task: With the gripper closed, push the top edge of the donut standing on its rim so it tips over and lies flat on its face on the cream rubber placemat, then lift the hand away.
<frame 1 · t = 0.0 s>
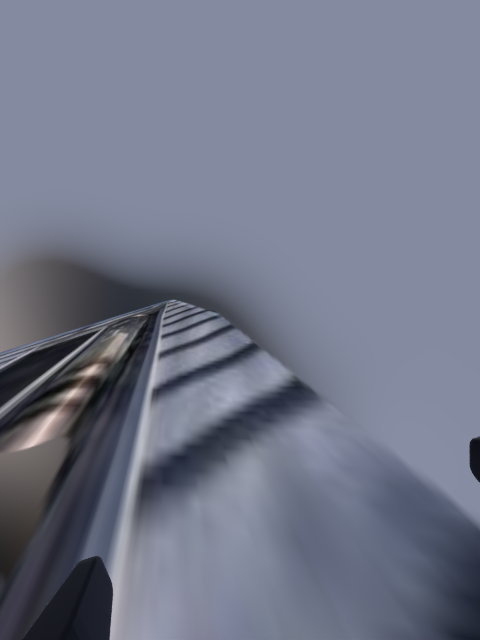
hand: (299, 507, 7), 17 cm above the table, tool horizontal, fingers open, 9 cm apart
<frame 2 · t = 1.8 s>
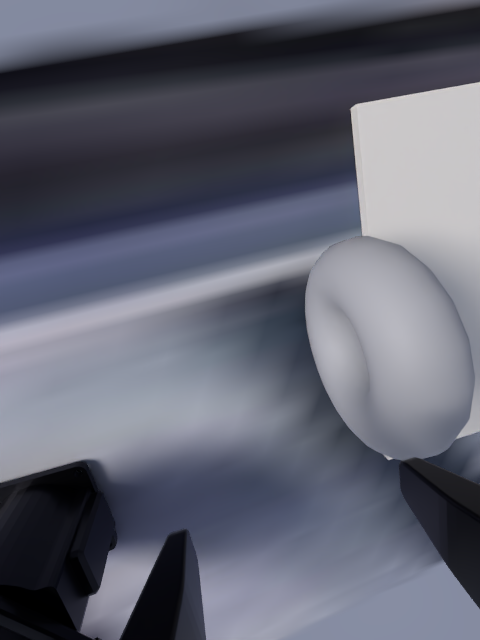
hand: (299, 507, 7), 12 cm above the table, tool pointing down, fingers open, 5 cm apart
donut: (322, 318, 20), on the table
placemat: (427, 293, 20), on the table
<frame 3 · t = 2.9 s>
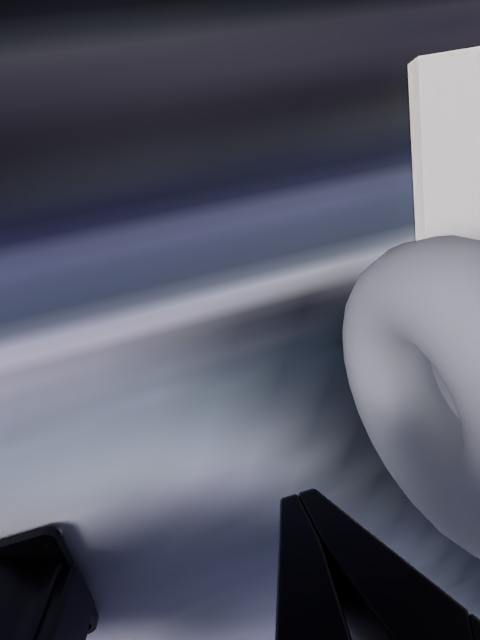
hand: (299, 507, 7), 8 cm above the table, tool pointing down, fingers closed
donut: (360, 341, 15), on the table
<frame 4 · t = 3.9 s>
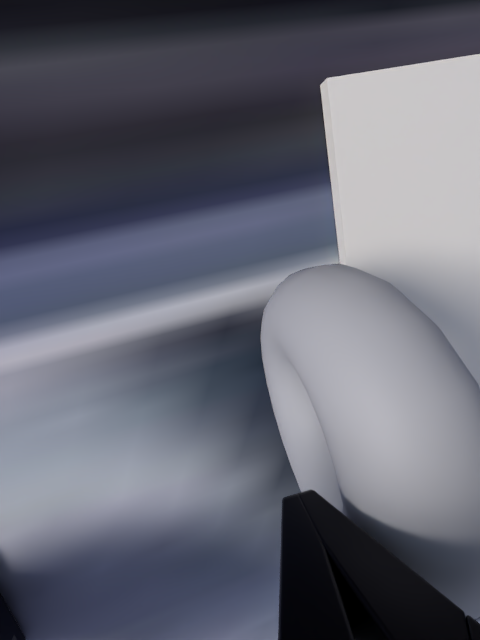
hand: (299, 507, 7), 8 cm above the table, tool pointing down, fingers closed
donut: (288, 361, 15), on the table, touching gripper
placemat: (424, 327, 16), on the table
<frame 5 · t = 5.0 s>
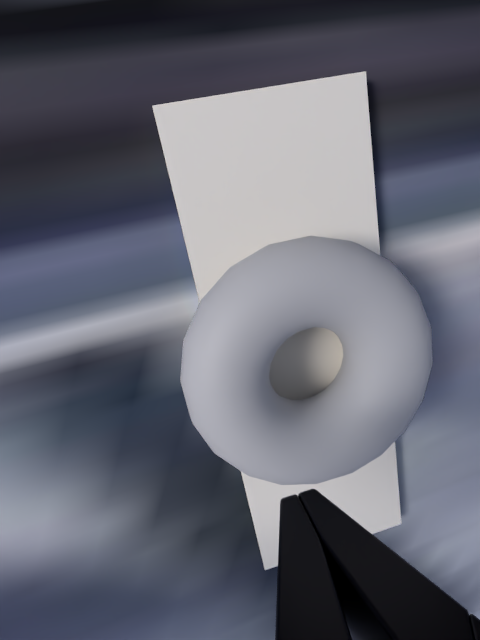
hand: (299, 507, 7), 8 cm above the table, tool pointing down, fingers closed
donut: (185, 420, 12), point 2 cm above the table, touching placemat
placemat: (301, 359, 15), on the table
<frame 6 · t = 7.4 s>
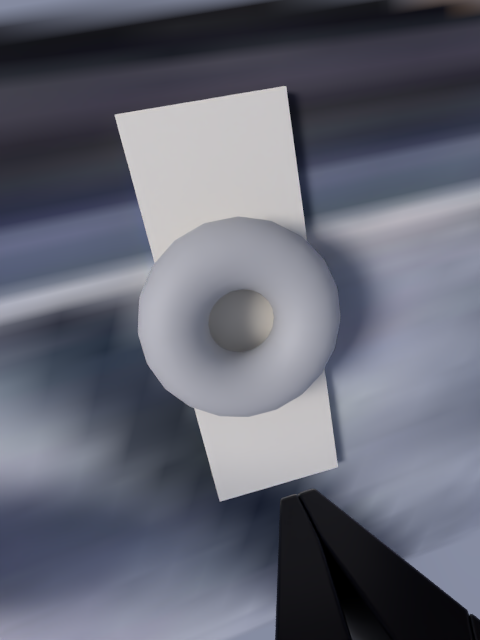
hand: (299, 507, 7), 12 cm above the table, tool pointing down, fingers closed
donut: (142, 362, 16), point 2 cm above the table, touching placemat
placemat: (246, 322, 18), on the table
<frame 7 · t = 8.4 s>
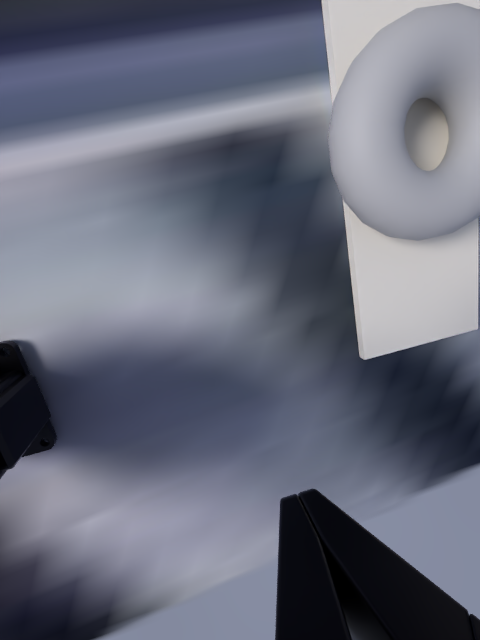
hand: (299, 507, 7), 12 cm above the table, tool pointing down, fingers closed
donut: (331, 171, 15), point 2 cm above the table, touching placemat
placemat: (406, 160, 18), on the table
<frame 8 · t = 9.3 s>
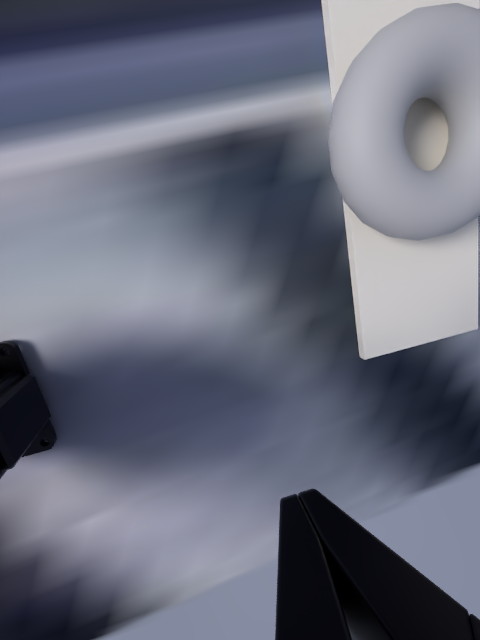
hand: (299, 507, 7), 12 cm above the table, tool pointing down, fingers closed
donut: (331, 171, 15), point 2 cm above the table, touching placemat
placemat: (406, 160, 18), on the table
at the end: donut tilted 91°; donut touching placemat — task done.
